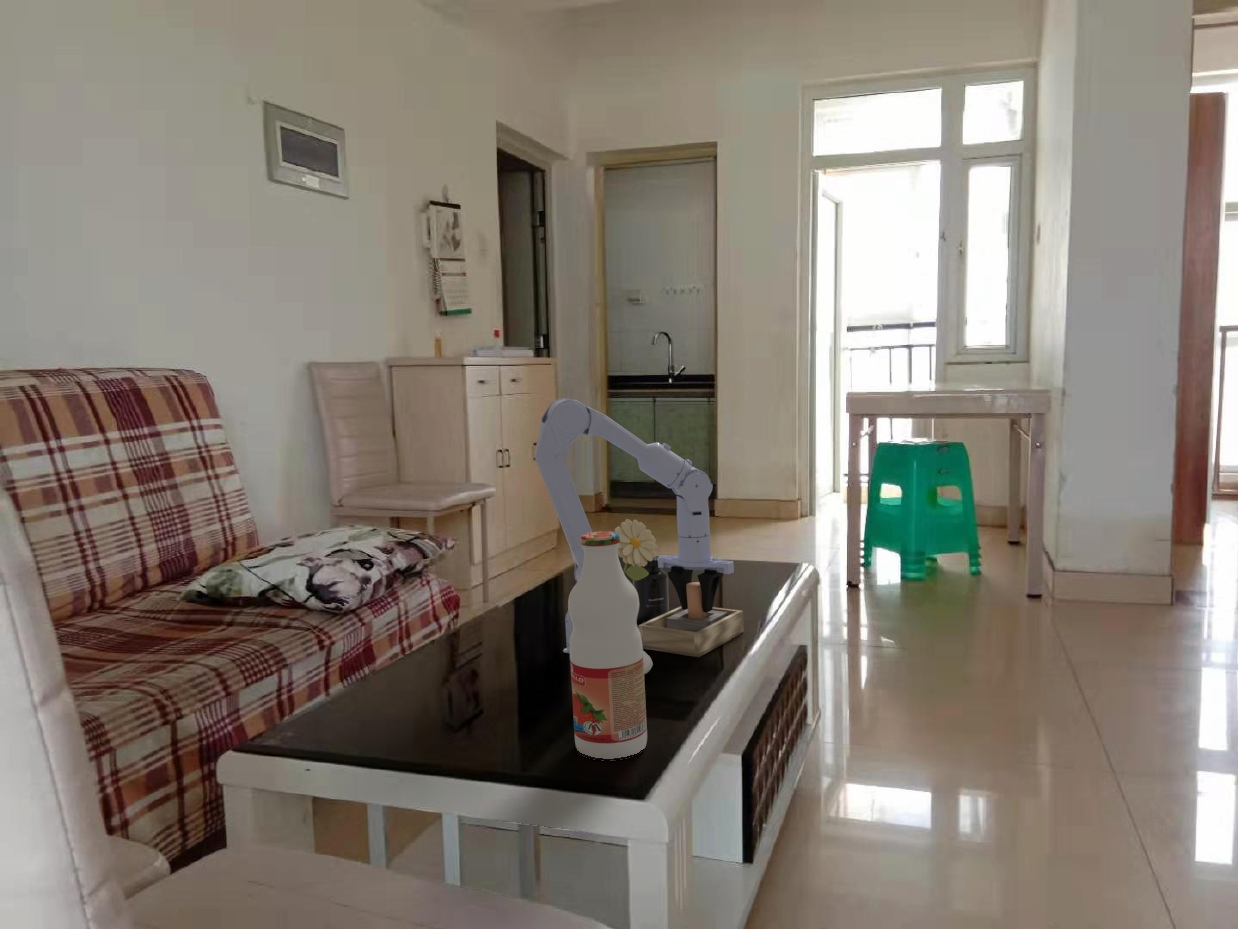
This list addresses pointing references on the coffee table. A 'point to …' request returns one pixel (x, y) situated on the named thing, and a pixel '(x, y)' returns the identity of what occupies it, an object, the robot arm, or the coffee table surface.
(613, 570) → the fruit juice
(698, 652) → the box
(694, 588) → the peg
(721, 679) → the coffee table surface
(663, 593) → the supplement bottle
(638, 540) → the flower in vase
